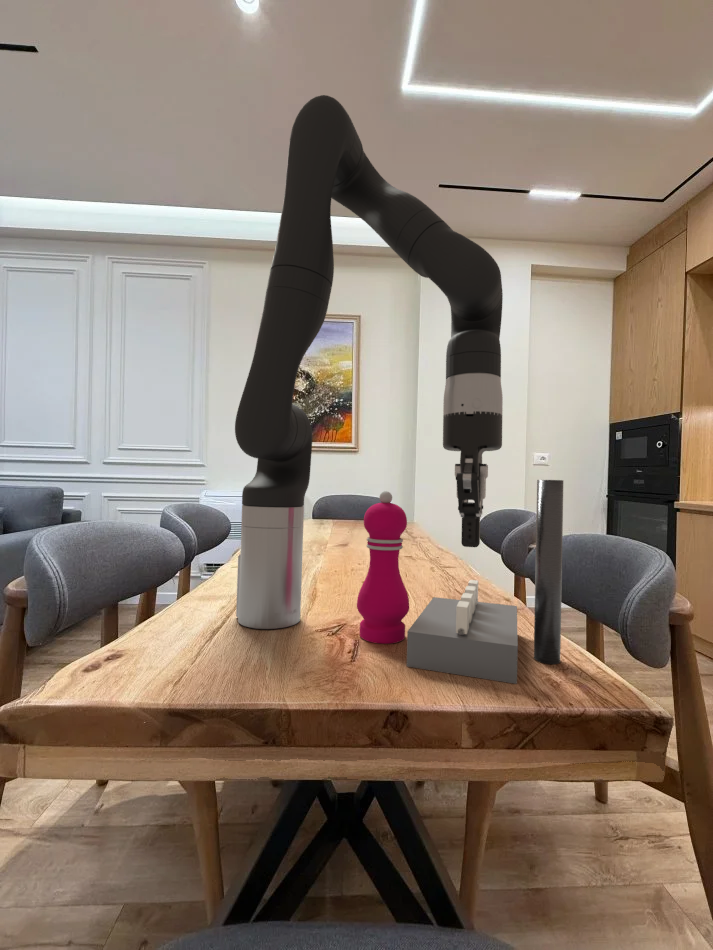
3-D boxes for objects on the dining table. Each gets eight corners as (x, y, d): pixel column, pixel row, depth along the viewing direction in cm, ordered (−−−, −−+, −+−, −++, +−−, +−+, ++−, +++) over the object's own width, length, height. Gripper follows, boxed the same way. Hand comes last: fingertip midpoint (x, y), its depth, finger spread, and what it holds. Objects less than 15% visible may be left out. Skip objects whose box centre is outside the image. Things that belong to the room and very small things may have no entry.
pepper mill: (405, 647, 59) (409, 492, 59) (351, 642, 60) (355, 490, 61) (410, 630, 66) (414, 491, 66) (361, 626, 67) (365, 490, 68)
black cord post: (529, 658, 56) (532, 479, 57) (540, 653, 58) (543, 480, 59) (554, 666, 54) (557, 479, 55) (564, 660, 56) (567, 480, 57)
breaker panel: (406, 666, 53) (407, 631, 53) (432, 623, 70) (433, 597, 70) (516, 683, 49) (517, 646, 49) (516, 633, 66) (516, 606, 66)
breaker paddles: (455, 634, 52) (456, 606, 52) (469, 601, 67) (469, 579, 67) (466, 636, 51) (467, 607, 52) (477, 602, 67) (478, 580, 67)
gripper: (450, 421, 68) (448, 539, 67) (435, 406, 55) (433, 550, 55) (503, 420, 65) (502, 542, 65) (501, 403, 53) (499, 555, 52)
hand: (470, 546), depth 60 cm, fingers closed
